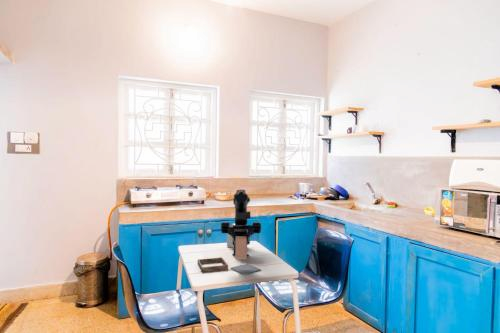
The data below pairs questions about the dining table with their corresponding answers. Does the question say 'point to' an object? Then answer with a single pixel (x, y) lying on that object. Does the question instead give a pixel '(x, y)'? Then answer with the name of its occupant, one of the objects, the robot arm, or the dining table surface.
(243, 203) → the robot arm
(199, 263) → the walnut well
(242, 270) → the slate pad
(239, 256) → the terracotta block
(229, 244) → the supplement box
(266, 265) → the dining table surface
